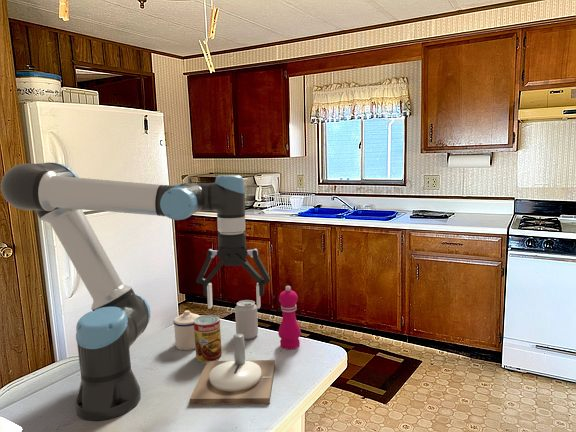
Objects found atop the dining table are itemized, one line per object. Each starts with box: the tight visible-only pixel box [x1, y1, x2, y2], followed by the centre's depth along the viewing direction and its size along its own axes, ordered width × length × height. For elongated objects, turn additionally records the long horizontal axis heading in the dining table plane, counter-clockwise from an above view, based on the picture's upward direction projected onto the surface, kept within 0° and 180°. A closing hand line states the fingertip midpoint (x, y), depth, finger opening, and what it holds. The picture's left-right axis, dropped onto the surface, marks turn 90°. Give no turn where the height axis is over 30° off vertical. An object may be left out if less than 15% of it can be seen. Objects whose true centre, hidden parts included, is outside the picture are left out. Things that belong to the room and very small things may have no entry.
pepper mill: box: [278, 285, 302, 350], centre depth 137 cm, size 7×7×20 cm
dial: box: [209, 333, 261, 392], centre depth 115 cm, size 14×14×10 cm
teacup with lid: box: [172, 310, 201, 351], centre depth 142 cm, size 12×9×12 cm
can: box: [234, 299, 259, 340], centre depth 146 cm, size 8×8×12 cm
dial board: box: [189, 359, 276, 406], centre depth 116 cm, size 20×20×2 cm
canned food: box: [194, 314, 223, 363], centre depth 132 cm, size 8×8×12 cm
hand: (234, 307), depth 119 cm, fingers open, 13 cm apart
